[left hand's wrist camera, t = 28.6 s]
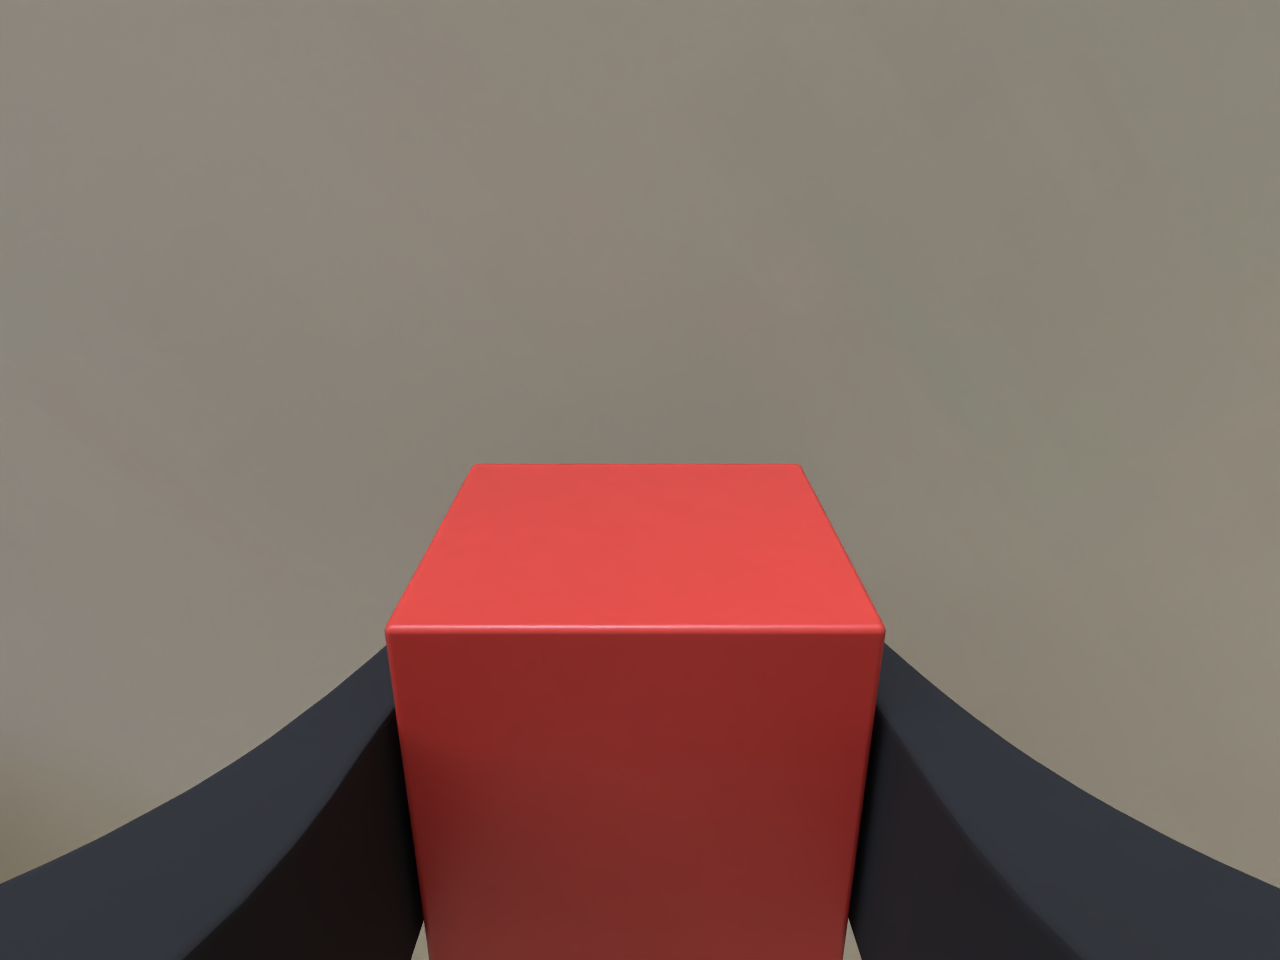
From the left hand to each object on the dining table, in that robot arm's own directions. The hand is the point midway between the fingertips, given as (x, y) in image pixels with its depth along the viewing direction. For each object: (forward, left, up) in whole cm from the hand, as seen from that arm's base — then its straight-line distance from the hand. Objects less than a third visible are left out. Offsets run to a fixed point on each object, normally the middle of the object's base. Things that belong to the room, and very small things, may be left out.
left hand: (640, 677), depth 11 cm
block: (0, 0, -2) cm, 2 cm away
